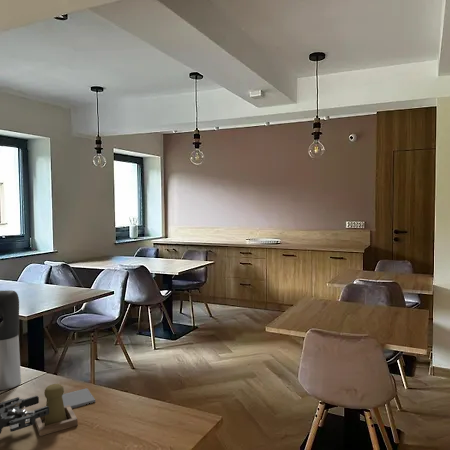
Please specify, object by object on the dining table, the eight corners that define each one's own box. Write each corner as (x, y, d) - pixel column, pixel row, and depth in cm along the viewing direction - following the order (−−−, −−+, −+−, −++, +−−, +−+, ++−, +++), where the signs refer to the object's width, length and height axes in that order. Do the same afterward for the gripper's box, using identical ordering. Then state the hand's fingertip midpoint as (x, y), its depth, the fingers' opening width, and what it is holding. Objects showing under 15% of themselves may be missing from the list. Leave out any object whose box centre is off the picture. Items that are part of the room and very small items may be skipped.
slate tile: (55, 398, 137) (55, 395, 137) (87, 390, 143) (87, 388, 143) (62, 411, 129) (62, 408, 129) (95, 402, 134) (95, 399, 134)
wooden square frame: (34, 420, 124) (33, 414, 124) (69, 410, 129) (69, 404, 129) (39, 436, 115) (39, 429, 115) (77, 425, 121) (77, 419, 121)
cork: (59, 415, 127) (58, 379, 126) (70, 421, 123) (69, 384, 122) (40, 423, 122) (38, 386, 121) (51, 430, 118) (49, 392, 117)
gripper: (-16, 422, 104) (52, 399, 114) (-29, 402, 114) (34, 383, 125) (-14, 451, 104) (53, 426, 115) (-27, 428, 115) (35, 408, 125)
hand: (43, 404), depth 120 cm, fingers open, 8 cm apart
